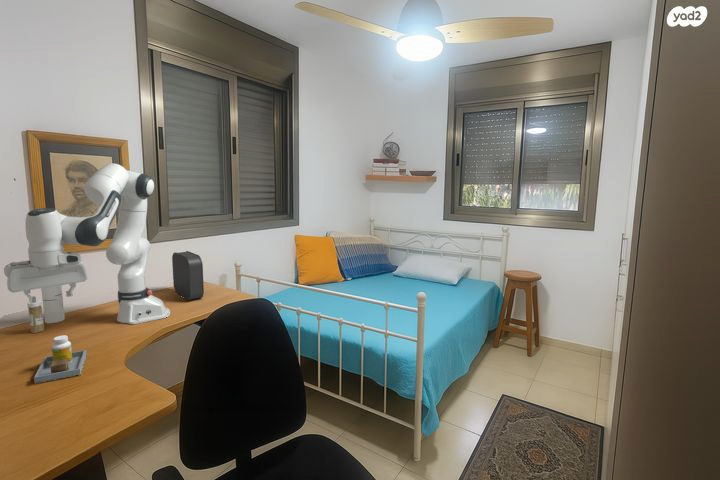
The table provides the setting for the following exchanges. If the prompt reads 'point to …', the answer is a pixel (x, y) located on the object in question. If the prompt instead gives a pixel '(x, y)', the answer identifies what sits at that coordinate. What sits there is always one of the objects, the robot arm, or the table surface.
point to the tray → (74, 369)
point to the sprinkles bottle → (36, 316)
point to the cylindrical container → (53, 304)
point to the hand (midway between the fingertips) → (51, 299)
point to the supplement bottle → (62, 349)
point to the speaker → (188, 275)
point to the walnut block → (59, 366)
